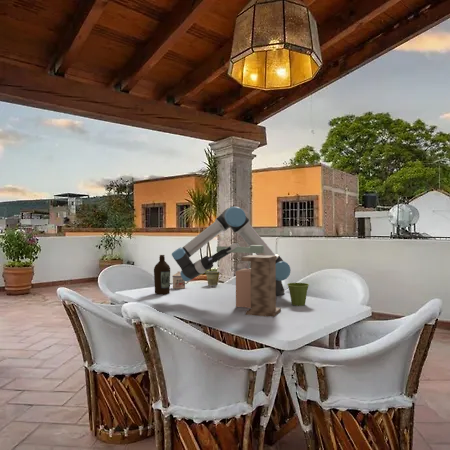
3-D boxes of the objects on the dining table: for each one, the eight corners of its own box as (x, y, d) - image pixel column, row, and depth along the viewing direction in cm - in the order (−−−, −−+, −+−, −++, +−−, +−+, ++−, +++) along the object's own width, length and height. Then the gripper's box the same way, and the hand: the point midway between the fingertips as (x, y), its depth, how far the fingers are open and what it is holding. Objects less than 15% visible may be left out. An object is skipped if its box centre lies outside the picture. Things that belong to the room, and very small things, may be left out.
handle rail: (215, 252, 212) (215, 244, 212) (220, 251, 218) (220, 244, 218) (260, 253, 202) (260, 245, 202) (263, 252, 208) (263, 245, 208)
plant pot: (283, 303, 210) (283, 283, 210) (301, 302, 215) (300, 282, 215) (295, 307, 199) (295, 286, 200) (313, 305, 204) (313, 284, 204)
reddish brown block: (235, 306, 203) (235, 271, 204) (244, 301, 216) (244, 268, 217) (261, 308, 198) (260, 272, 198) (268, 303, 211) (268, 269, 211)
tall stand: (241, 314, 185) (241, 257, 185) (250, 308, 198) (250, 255, 198) (273, 317, 179) (273, 257, 179) (280, 310, 192) (280, 255, 192)
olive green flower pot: (203, 286, 276) (203, 272, 277) (210, 284, 285) (210, 270, 285) (219, 287, 270) (218, 273, 270) (225, 285, 279) (225, 271, 279)
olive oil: (150, 293, 246) (150, 255, 246) (164, 291, 253) (164, 254, 253) (160, 295, 238) (159, 255, 238) (173, 293, 245) (173, 254, 245)
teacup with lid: (174, 289, 262) (174, 272, 262) (170, 287, 270) (170, 271, 270) (191, 288, 267) (191, 271, 267) (186, 286, 276) (186, 270, 276)
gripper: (213, 268, 225) (245, 249, 218) (200, 271, 209) (235, 251, 202) (207, 257, 227) (239, 238, 219) (194, 259, 211) (228, 239, 203)
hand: (237, 244), depth 211 cm, fingers closed on handle rail, 4 cm apart
